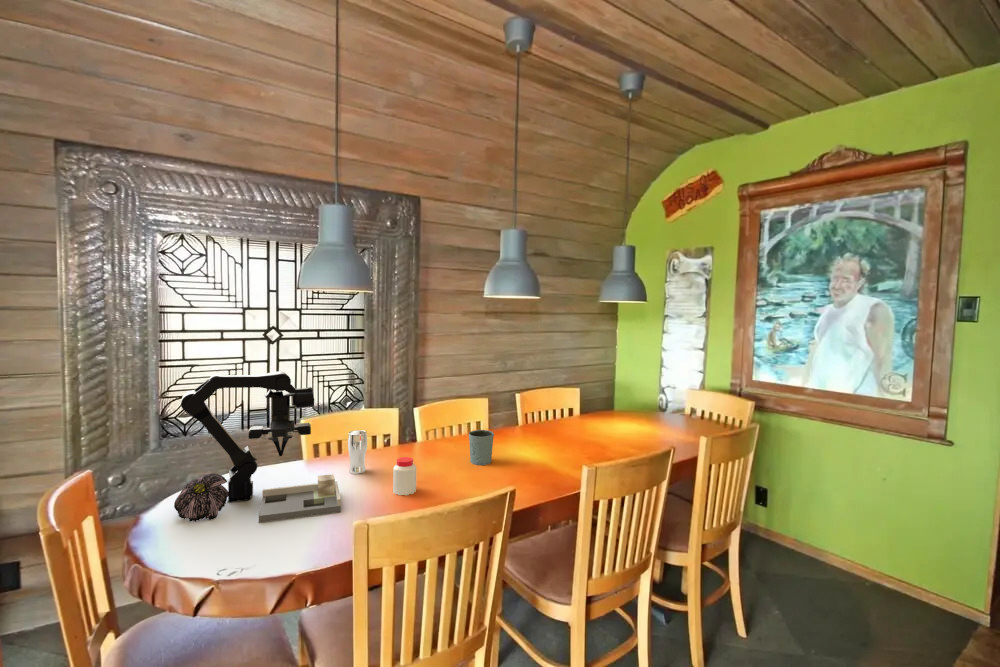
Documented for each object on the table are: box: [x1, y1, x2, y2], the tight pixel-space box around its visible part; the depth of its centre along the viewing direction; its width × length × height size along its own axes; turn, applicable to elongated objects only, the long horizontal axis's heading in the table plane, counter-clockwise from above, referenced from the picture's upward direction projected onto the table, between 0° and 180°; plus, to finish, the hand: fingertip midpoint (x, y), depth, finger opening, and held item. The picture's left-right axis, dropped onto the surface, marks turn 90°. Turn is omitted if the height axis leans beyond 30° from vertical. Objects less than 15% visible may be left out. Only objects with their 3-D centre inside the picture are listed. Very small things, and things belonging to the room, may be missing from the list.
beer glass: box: [347, 429, 368, 475], centre depth 186 cm, size 7×7×15 cm
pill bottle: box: [392, 456, 417, 496], centre depth 168 cm, size 8×8×11 cm
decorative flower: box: [173, 473, 229, 523], centre depth 147 cm, size 15×12×15 cm
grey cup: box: [468, 429, 495, 466], centre depth 200 cm, size 10×10×12 cm
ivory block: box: [317, 473, 336, 496], centre depth 160 cm, size 5×5×5 cm
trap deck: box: [258, 480, 342, 524], centre depth 153 cm, size 22×16×4 cm
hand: (280, 455), depth 165 cm, fingers closed
